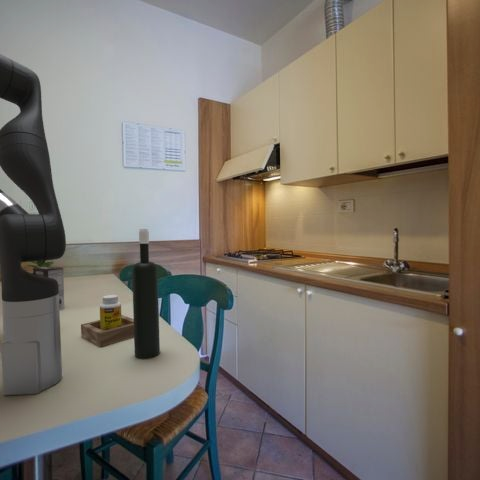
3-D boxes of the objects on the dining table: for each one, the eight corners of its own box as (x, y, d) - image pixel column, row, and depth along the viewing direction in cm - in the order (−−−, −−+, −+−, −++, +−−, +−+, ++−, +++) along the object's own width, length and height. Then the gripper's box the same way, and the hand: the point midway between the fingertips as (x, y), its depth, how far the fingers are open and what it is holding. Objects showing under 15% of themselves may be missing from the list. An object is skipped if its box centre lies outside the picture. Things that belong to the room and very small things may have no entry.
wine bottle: (150, 347, 78) (147, 229, 77) (164, 352, 74) (161, 228, 73) (129, 354, 74) (126, 229, 72) (143, 361, 70) (139, 229, 69)
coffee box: (34, 310, 116) (32, 267, 115) (51, 306, 122) (49, 265, 121) (48, 313, 112) (46, 269, 111) (65, 308, 118) (63, 266, 117)
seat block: (142, 334, 88) (142, 322, 88) (100, 347, 79) (100, 333, 79) (121, 326, 96) (121, 314, 95) (81, 336, 87) (80, 324, 86)
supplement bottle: (102, 337, 83) (101, 299, 83) (98, 331, 88) (97, 295, 87) (123, 332, 86) (122, 296, 86) (119, 327, 91) (118, 293, 91)
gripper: (-3, 201, 79) (45, 245, 80) (31, 205, 93) (72, 242, 94) (-24, 222, 79) (25, 265, 80) (14, 222, 93) (54, 260, 94)
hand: (50, 253), depth 87 cm, fingers open, 8 cm apart
